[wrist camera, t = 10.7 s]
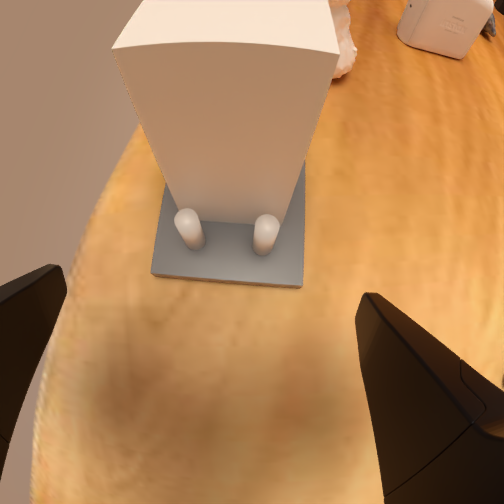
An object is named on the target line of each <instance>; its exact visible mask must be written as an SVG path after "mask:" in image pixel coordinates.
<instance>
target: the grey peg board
mask: <svg viewBox="0 0 504 504" xmlns="http://www.w3.org/2000/svg"><path fill="white" fill-rule="evenodd" d="M304 233H305V160H304V163H303V166H302V169H301V172H300V175H299V177H298V180H297V183H296V186H295V189H294V192H293V194H292V197H291V200H290V203H289V206H288V209H287V211H286V214H285V217H284V220H283V223H282V225H281V227H280V224H279V221H278V220H277V218H276V217H274V216H273V215H270V214H264V215H261V216H260V217H258V219H257V220H256V222H255V225H253V224H240V223H227V222H213V221H199V218H198V215H197V213H196V212H195V211H194V210H192V209H189V208H185V209H182V210H180V211H179V210H178V208H177V205H176V203H175V201H174V199H173V197H172V194H171V192H170V190H169V188H168V186H167V183H166V185H165V190H164V195H163V200H162V206H161V211H160V217H159V222H158V228H157V234H156V240H155V246H154V253H153V259H152V266H151V274H153V275H154V276H158V277H168V278H178V279H189V280H199V281H211V282H222V283H234V284H247V285H260V286H273V287H287V288H301V287H302V286H303V268H304Z"/></svg>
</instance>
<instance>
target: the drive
mask: <svg viewBox="0 0 504 504" xmlns="http://www.w3.org/2000/svg"><path fill="white" fill-rule="evenodd" d="M112 52H113V55H114V57H115V60H116V63H117V65H118V68H119V70H120V73H121V76H122V78H123V81H124V83H125V86H126V88H127V91H128V94H129V96H130V99H131V101H132V103H133V106H134V108H135V111H136V113H137V116H138V118H139V121H140V123H141V125H142V128H143V130H144V133H145V135H146V137H147V140H148V142H149V144H150V147H151V149H152V151H153V154H154V156H155V158H156V161H157V163H158V165H159V168H160V170H161V172H162V174H163V177H164V179H165V181H166V183H167V186H168V188H169V190H170V192H171V194H172V197H173V199H174V201H175V203H176V205H177V208H178V210H179V211H180V210H182V209H185V208H189V209H192V210H194V211H195V212H196V213H197V215H198V218H199V221H213V222H227V223H240V224H253V225H255V222H256V220H257V219H258V217H260V216H261V215H264V214H270V215H273V216H274V217H276V218H277V220H278V221H279V224H280V227H281V225H282V223H283V220H284V217H285V214H286V211H287V209H288V206H289V203H290V200H291V197H292V194H293V192H294V189H295V186H296V183H297V180H298V177H299V175H300V172H301V169H302V166H303V163H304V160H305V157H306V154H307V152H308V149H309V146H310V143H311V140H312V137H313V134H314V131H315V128H316V125H317V122H318V119H319V117H320V114H321V111H322V108H323V105H324V102H325V99H326V96H327V93H328V90H329V87H330V84H331V81H332V78H333V75H334V72H335V69H336V66H337V63H338V60H339V57H340V51H339V46H338V42H337V37H336V32H335V28H334V24H333V19H332V15H331V11H330V7H329V3H328V0H143V2H142V3H141V5H140V6H139V7H138V9H137V10H136V12H135V13H134V15H133V16H132V18H131V19H130V21H129V22H128V23H127V25H126V26H125V28H124V29H123V31H122V33H121V34H120V36H119V37H118V39H117V40H116V42H115V44H114V45H113V47H112Z"/></svg>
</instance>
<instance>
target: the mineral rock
mask: <svg viewBox="0 0 504 504" xmlns="http://www.w3.org/2000/svg"><path fill="white" fill-rule="evenodd" d="M482 30H484V31H486V32H488V33H489V34H490V35H491V36H492V37H494V36H495V35H496V30H495V18H494V15H493V13H492V14H491V16H490V17H489V19H488V20H487V22H486V24H485V25H484V27H483V29H482Z"/></svg>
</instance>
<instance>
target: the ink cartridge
mask: <svg viewBox="0 0 504 504" xmlns="http://www.w3.org/2000/svg"><path fill="white" fill-rule="evenodd" d="M494 6H495V8H496V9H497V11H499V12H500V13H502V14H503V15H504V0H496V2H495V4H494Z"/></svg>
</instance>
